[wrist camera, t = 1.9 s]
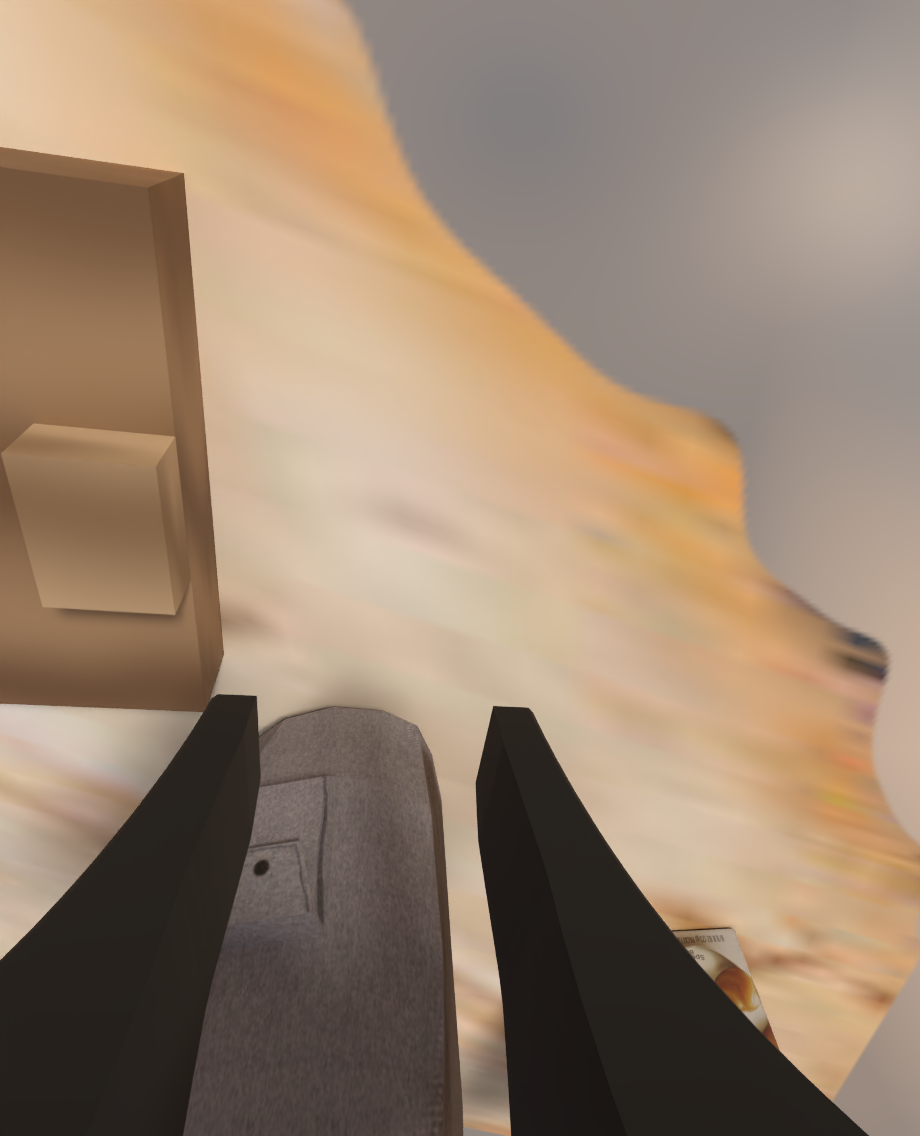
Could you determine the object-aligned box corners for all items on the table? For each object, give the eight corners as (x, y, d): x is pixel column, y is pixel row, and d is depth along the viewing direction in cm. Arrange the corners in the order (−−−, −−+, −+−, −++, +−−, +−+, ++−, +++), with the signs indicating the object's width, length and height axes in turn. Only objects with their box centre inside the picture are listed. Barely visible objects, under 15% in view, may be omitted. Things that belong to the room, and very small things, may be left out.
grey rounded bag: (450, 882, 32) (501, 1732, 15) (270, 899, 31) (126, 1779, 15) (425, 638, 23) (481, 2018, 7) (174, 658, 23) (-417, 2142, 6)
